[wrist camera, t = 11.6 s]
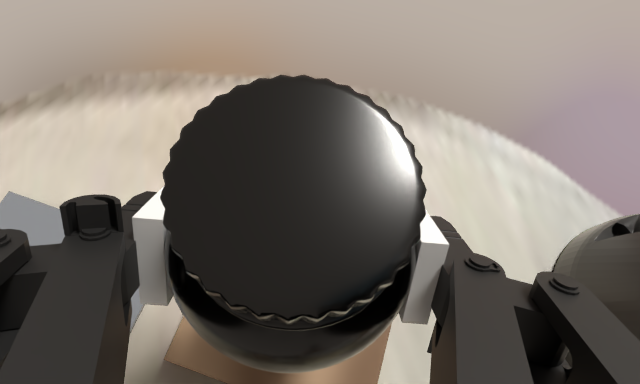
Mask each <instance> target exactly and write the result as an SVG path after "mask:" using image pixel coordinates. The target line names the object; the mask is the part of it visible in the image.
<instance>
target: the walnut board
mask: <svg viewBox="0 0 640 384" xmlns="http://www.w3.org/2000/svg"><path fill="white" fill-rule="evenodd" d="M391 324H392V323H391ZM391 324H390V325H389V327H388V328H387V329H386V330H385V331H384V333H383V334H382V335H380V336H379V337H378V338H377V339H376V340H375V341H374V342H373V343H372V344H371V345H369V346H368V347H367V348H365V349H364V350H363V351H361V352H360V353H358V354H356V355H355V356H353V357H351V358H349V359H347V360H345V361H343V362H341V363H339V364H336V365H333V366H331V367H328V368H324V369H320V370H316V371H311V372H303V373H277V372H269V371H264V370H259V369H255V368H252V367H249V366H246V365H243V364H241V363H239V362H236V361H234V360H232V359H230V358H228V357H227V356H225V355H223V354H221V353H220V352H218V351H217V350H216V349H214V348H213V347H212V346H210V345H209V344H208V343H207V342H206V341H205V340H204V339H202V338H201V337H200V336H199V335H198V334H197V332H196V331H195V330H194V329H193V328H192V327H191V325H190V324H189V323H188V321H187V320H186V318H185V317H183V319H182V321H181V323H180V325H179V327H178V330H177V332H176V334H175V336H174V338H173V340H172V343H171V345H170V347H169V349H168V351H167V353H166V356H165V358H164V360H166V361H169V362H171V363H174V364H177V365H179V366H182V367H185V368H187V369H190V370H193V371H195V372H198V373H201V374H203V375H206V376H209V377H211V378H214V379H217V380H219V381H222V382H225V383H227V384H377V382H378V378H379V374H380V370H381V366H382V362H383V357H384V353H385V349H386V345H387V341H388V336H389V332H390V328H391Z"/></svg>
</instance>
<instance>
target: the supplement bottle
mask: <svg viewBox="0 0 640 384" xmlns="http://www.w3.org/2000/svg"><path fill="white" fill-rule="evenodd" d="M421 175H422V166H421V164H420V162H419V161H418V160H417V158H416V157H415V149H414V145H413V144H412V143H411V142H410V141H409V140H408V139H407V138H406V137H405V135H404V131H403V128H402V126H401V125H399V124H398V123H397V122H395V121H394V120H392V119H391V117H390V115H389V113H388V111H387V110H386V109H384V108H382V107H380V106H378V105H375V103H374V102H373V101H372V100H371V98H370V97H369V96H366V95H363V94H360V93H357V92H355V91H354V90H353V89H352V88H351V87H350V86H347V85H340V84H336V83H334V82H332V81H331V80H329V79H326V78H324V79H314V78H312V77H309V76H306V75H300V76H296V77H290V76H286V75H279V76H276V77H274V78H272V79H266V78H259V79H257V80H255V81H253V82H252V83H250V84H247V85H238V86H236V87H235V88H233V89H232V90H231V91H230V92H229V93H227V94H223V95H219V96H216V97H215V99H214V100H213V101H212V102H211V104H210V105H209V106H207V107H204V108H202V109H200V110H198V111H197V113H196V114H195V116H194V119H193V121H191V122H190V123H188V124H187V125H186V126H184V127H183V128H182V130H181V133H180V139H179V140H178V141H177V142H176V143H175V144H174V145H173V147H172V148H171V149H170V162H169V163H168V165H167V166H166V167H165V169H164V171H163V179H164V182H165V186H164V188H163V190H162V192H161V196H160V200H161V202H162V204H163V206H164V208H165V212H164V216H163V225H164V227H165V228H166V229H167V230H166V236H165V265H166V271H167V277H168V280H169V284H170V287H171V291H172V293H173V296H174V298H175V301H176V303H177V305H178V307H179V308H180V310H181V312H182V314H183V315H184V317H185V318H186V320H187V321H188V323H189V324H190V325H191V327H192V328H193V329H194V330H195V331H196V332H197V334H198V335H199V336H200V337H201V338H202V339H204V340H205V341H206V342H207V343H208V344H209V345H210V346H212V347H213V348H214V349H216V350H217V351H218V352H220V353H221V354H223V355H225V356H227V357H228V358H230V359H232V360H234V361H236V362H239V363H241V364H243V365H246V366H249V367H252V368H255V369H259V370H264V371H269V372H277V373H303V372H311V371H316V370H320V369H324V368H328V367H331V366H333V365H336V364H339V363H341V362H343V361H345V360H347V359H349V358H351V357H353V356H355V355H356V354H358V353H360V352H361V351H363V350H364V349H365V348H367V347H368V346H369V345H371V344H372V343H373V342H374V341H375V340H376V339H377V338H378V337H379V336H380V335H382V334H383V333H384V331H385V330H386V329H387V328H388V327H389V325H390V324H391V323H392V322H393V320H394V319H395V317H396V316H397V314H398V313H399V311H400V309H401V307H402V305H403V303H404V302H405V299H406V297H407V295H408V292H409V290H410V287H411V283H412V280H413V276H414V271H415V266H416V255H417V243H418V242H419V240H420V238H421V229H420V223H421V222H422V221H423V219H424V217H425V215H426V211H425V206H424V203H423V199H424V197H425V194H426V187H425V185H424V183H423V181H422V179H421Z"/></svg>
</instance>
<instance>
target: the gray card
mask: <svg viewBox="0 0 640 384" xmlns="http://www.w3.org/2000/svg"><path fill="white" fill-rule="evenodd" d="M0 229H16V230H21V231H23V232H25V233H27V236H28V240H29V245H30V246H36V245H48V244H59V243H62V241H63V239H64V237H65V235H64V229H63V224H62V218H61V213H60V209H57V208H54V207H52V206H49V205H46V204H43V203H41V202H38V201H35V200H32V199H29V198H27V197H24V196H21V195H18V194H15V193H13V192H10V191H9V192H8V193H7V195H6V196H5V197H4V199H3V200H2V201H1V203H0ZM131 304H132V318H131V326H130V332H131V330H132V328H133V327H134V325H135V323H136V321H137V319H138V317H139V315H140V313H141V311H142V309H143V307H144V305H145V304H140V297H139V287H138V289H137V290H136V292H135V293H134V295H133V296H132V297H131Z"/></svg>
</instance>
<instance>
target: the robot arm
mask: <svg viewBox="0 0 640 384" xmlns="http://www.w3.org/2000/svg"><path fill="white" fill-rule="evenodd" d="M164 186H165V185H164ZM164 186H163V187H162V188H161V189H160V190H159V191H158V192H149V191H146V192H144V193H141V194H139V195H137V196H134V197H133V198H132V199H131V200H129V201H128V202H127V203H126V205H124V206H123V207H121V202H120V200H119V199H118V198H116V197H114V196H109V195H86V196H81V197H77V198H73V199H70V200H68V201H66V202H64V203H63V204H62V205H61V206H59V207H60V213H61V218H62V224H63V229H64V235H65V237H64V239H63V241H62V243H59V244H48V245H36V246H30V245H29V240H28V236H27V233H25V232H23V231H21V230H16V229H0V384H124V377H125V368H126V360H127V351H128V343H129V335H130V326H131V318H132V304H131V297H132V296H133V295H134V293H135V292H136V290H137V289H138V287H139V297H140V304H150V305H164V306H168V304H169V302H170V300H171V298H172V297H173V293H172V291H171V287H170V284H169V280H168V277H167V271H166V265H165V236H166V230H167V229H166V228H165V227H164V225H163V216H164V212H165V208H164V206H163V204H162V202H161V200H160V196H161V192H162V190H163V188H164ZM425 211H426V209H425ZM420 229H421V238H420V240H419V242H418V243H417V255H416V266H415V271H414V276H413V280H412V283H411V287H410V290H409V292H408V295H407V297H406V299H405V302H404V303H403V305H402V307H401V309H400V311H399V315H400V318H401V321H402V323H416V324H427V323H428V319H429V316H430V312H431V309H432V310H433V312H434V314H435V316H436V318H437V319H436V323H435V326H434V330H433V333H432V337H431V340H430V344H429V347H428V350H427V352H428V353H431V352H432V355H431V372H430V384H640V214H635V215H629V216H624V217H620V218H616V219H613V220H611V221H608V222H605V223H603V224H600V225H597V226H594V227H592V228H590V229H587V230H586V231H584V232H582V233H581V234H579V235H578V236H576V237H575V238H574V239H573V240H572V241H571V242H570V243H569V244H568V245H567V246H566V248H565V249H564V250H563V252H562V254H561V255H560V257H559V259H558V261H557V263H556V266H555V269H554V272H540V273H538V274H537V276H536V278H535V281H534V283H533V285H532V284H528V283H524V282H520V281H516V280H512V279H509V278H506V275H505V272H504V270H503V268H502V267H501V266H500V265H499V264H498V263H496V262H495V261H493V260H492V259H490V258H488V257H485V256H482V255H479V254H475V253H473V252H472V251H471V249H470V248H469V247H468V245H467V244H466V243H465V241H464V240H463V239H461V236H460V235H459V234H458V233H457V231H456V230H455V228H454V227H453V226H452V224H451V223H449V222H448V221H446V220H445V219H443V218H442V217H437V216H430V215H429V214H428V212H427V211H426V215H425V217H424V219H423V221H422V222H421V223H420Z"/></svg>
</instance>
